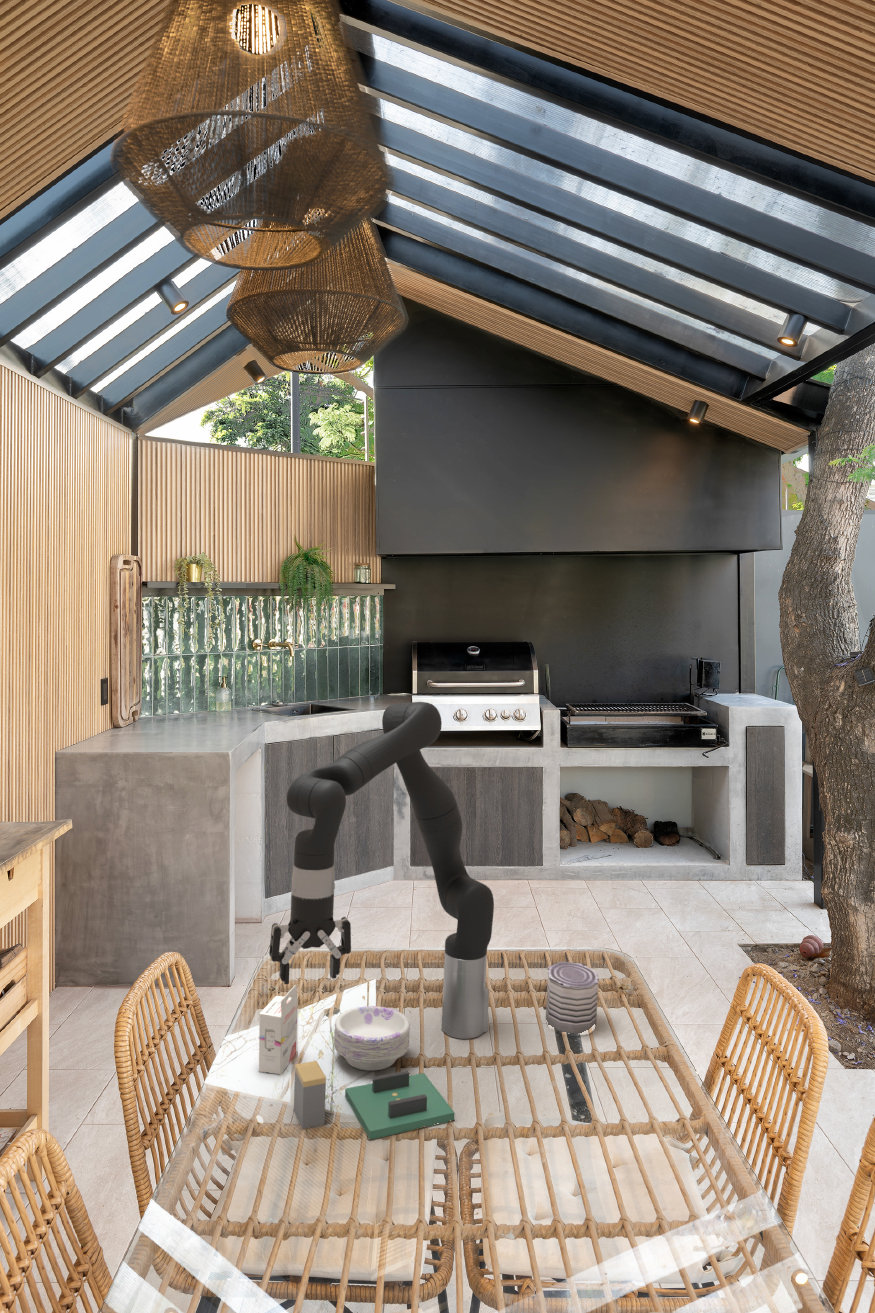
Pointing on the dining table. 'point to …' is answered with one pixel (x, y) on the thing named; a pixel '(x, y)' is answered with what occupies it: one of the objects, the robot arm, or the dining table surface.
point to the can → (571, 997)
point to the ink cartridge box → (278, 1033)
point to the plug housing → (309, 1094)
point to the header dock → (397, 1104)
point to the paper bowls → (371, 1037)
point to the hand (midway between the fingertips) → (309, 979)
